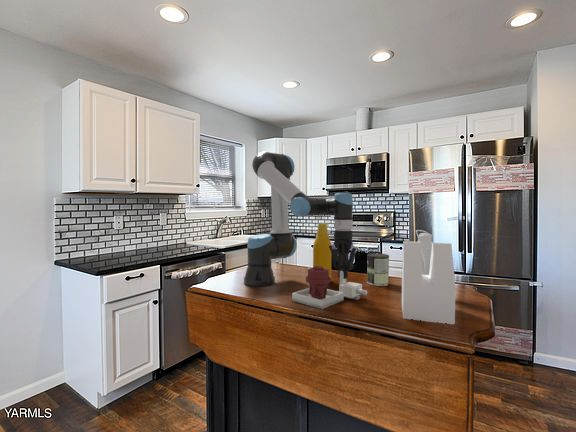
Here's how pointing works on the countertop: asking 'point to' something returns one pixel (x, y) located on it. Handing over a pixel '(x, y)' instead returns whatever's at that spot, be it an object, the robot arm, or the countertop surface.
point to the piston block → (352, 289)
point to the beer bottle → (322, 249)
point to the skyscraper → (425, 250)
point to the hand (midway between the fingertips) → (342, 285)
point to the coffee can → (377, 269)
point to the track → (353, 297)
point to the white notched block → (428, 284)
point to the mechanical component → (318, 281)
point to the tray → (321, 303)
